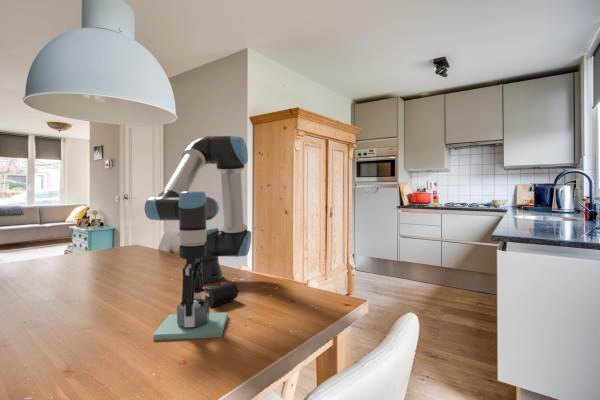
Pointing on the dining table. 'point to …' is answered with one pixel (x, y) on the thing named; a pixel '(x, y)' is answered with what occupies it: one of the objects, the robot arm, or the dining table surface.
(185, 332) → the post stand
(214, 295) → the end cap
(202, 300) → the collar
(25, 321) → the dining table surface
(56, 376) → the dining table surface
